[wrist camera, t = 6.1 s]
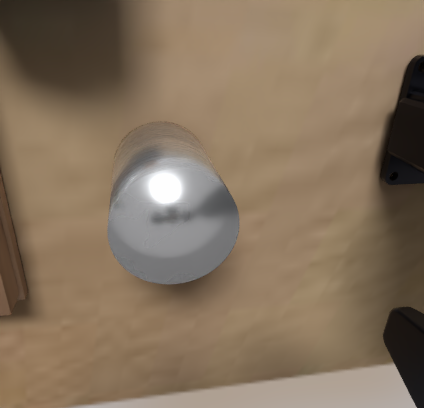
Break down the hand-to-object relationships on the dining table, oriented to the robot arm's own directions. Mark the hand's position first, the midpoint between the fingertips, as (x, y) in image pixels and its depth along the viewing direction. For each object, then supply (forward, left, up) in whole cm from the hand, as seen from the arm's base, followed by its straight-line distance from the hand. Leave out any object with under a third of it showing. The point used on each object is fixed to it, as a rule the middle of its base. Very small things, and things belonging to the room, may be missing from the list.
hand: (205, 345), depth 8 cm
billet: (0, 0, -11) cm, 11 cm away
